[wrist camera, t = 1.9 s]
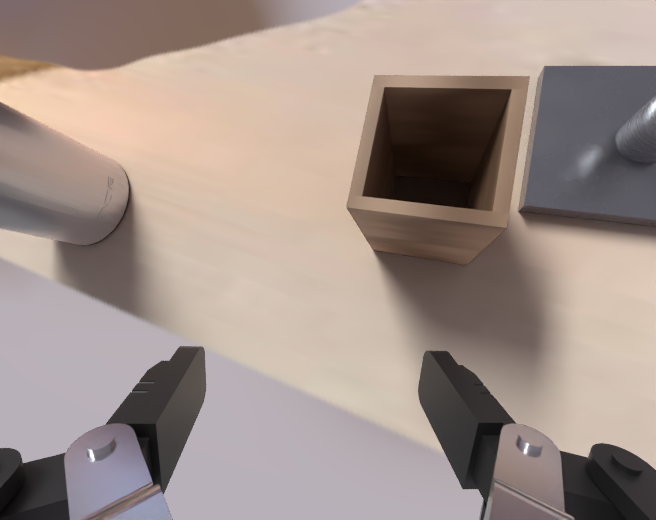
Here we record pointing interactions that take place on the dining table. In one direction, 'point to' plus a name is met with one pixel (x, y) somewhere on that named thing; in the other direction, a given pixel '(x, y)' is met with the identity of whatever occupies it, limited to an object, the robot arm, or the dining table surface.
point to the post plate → (593, 144)
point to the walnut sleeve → (438, 161)
